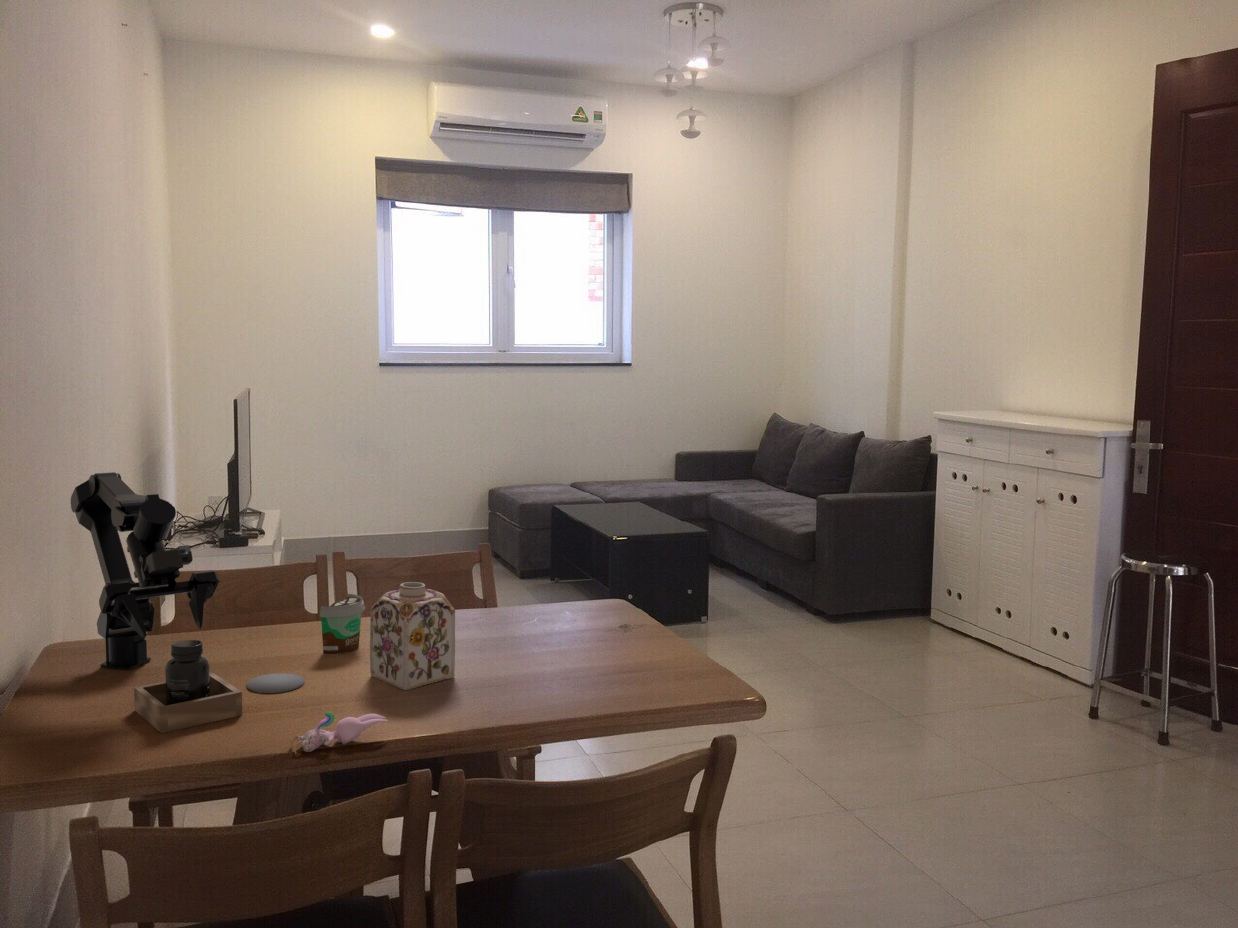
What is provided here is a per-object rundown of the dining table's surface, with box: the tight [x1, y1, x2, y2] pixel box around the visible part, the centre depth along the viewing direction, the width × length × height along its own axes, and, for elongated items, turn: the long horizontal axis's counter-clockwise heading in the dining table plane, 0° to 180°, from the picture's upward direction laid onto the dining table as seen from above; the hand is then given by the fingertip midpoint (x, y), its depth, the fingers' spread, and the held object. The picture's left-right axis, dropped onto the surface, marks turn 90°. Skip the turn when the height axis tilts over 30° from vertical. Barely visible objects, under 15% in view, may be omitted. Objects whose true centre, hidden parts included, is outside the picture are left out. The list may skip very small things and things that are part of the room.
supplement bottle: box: [164, 639, 210, 706], centre depth 169 cm, size 7×7×12 cm
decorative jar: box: [369, 581, 456, 691], centre depth 190 cm, size 12×12×18 cm
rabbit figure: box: [289, 711, 389, 755], centre depth 158 cm, size 6×6×15 cm
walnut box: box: [133, 672, 243, 734], centre depth 169 cm, size 13×13×4 cm
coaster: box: [246, 672, 305, 694], centre depth 185 cm, size 10×10×1 cm
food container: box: [319, 593, 366, 655], centre depth 207 cm, size 12×6×10 cm, turn 168°
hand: (173, 631), depth 173 cm, fingers open, 9 cm apart
